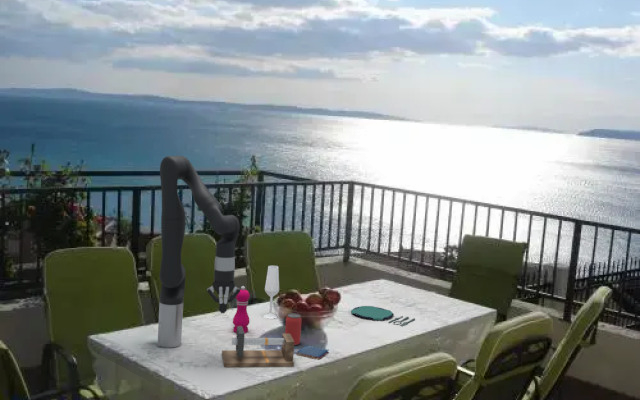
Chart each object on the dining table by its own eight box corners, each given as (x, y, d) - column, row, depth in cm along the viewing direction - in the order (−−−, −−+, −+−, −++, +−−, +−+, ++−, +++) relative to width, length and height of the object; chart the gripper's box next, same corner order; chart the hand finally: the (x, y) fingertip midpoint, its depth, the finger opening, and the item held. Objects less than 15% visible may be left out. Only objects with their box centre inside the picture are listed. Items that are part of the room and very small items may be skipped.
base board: (224, 367, 252) (225, 343, 251) (221, 354, 266) (223, 331, 265) (293, 366, 258) (295, 343, 257) (287, 353, 271) (289, 331, 270)
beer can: (288, 346, 280) (290, 318, 279) (281, 341, 286) (283, 313, 285) (302, 345, 284) (304, 316, 282) (295, 340, 289) (297, 312, 288)
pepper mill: (246, 334, 292) (248, 288, 290) (229, 332, 293) (232, 287, 291) (251, 329, 299) (253, 285, 297) (235, 327, 300) (237, 283, 298)
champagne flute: (276, 319, 318) (280, 268, 315) (262, 318, 318) (265, 267, 315) (277, 315, 324) (281, 265, 322) (263, 314, 324) (266, 264, 322)
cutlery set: (364, 307, 350) (364, 303, 350) (417, 321, 334) (418, 316, 333) (344, 315, 333) (344, 310, 333) (399, 330, 317) (399, 325, 317)
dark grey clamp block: (237, 356, 255) (239, 333, 254) (235, 348, 264) (237, 326, 263) (243, 356, 256) (244, 333, 255) (240, 348, 265) (242, 326, 264)
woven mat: (305, 349, 280) (305, 344, 280) (329, 353, 276) (329, 349, 276) (294, 356, 271) (295, 351, 271) (319, 361, 267) (319, 356, 267)
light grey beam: (232, 345, 258) (232, 339, 258) (231, 343, 260) (232, 337, 260) (284, 345, 262) (284, 339, 262) (283, 343, 264) (283, 337, 264)
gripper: (241, 266, 263) (239, 310, 265) (206, 265, 260) (204, 310, 262) (243, 270, 256) (241, 315, 258) (207, 270, 253) (205, 315, 255)
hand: (222, 312), depth 260 cm, fingers closed
